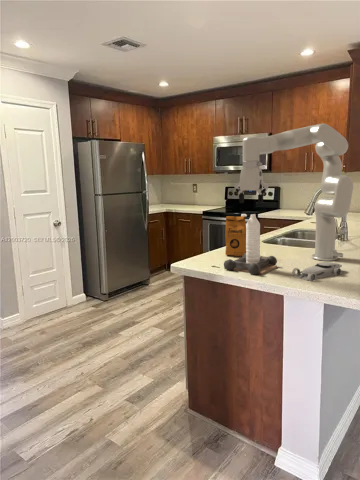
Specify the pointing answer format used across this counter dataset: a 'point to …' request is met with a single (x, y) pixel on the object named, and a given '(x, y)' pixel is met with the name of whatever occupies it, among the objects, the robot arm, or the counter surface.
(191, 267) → the counter surface
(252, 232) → the water bottle
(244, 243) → the coffee package
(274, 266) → the chassis
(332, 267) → the car model
